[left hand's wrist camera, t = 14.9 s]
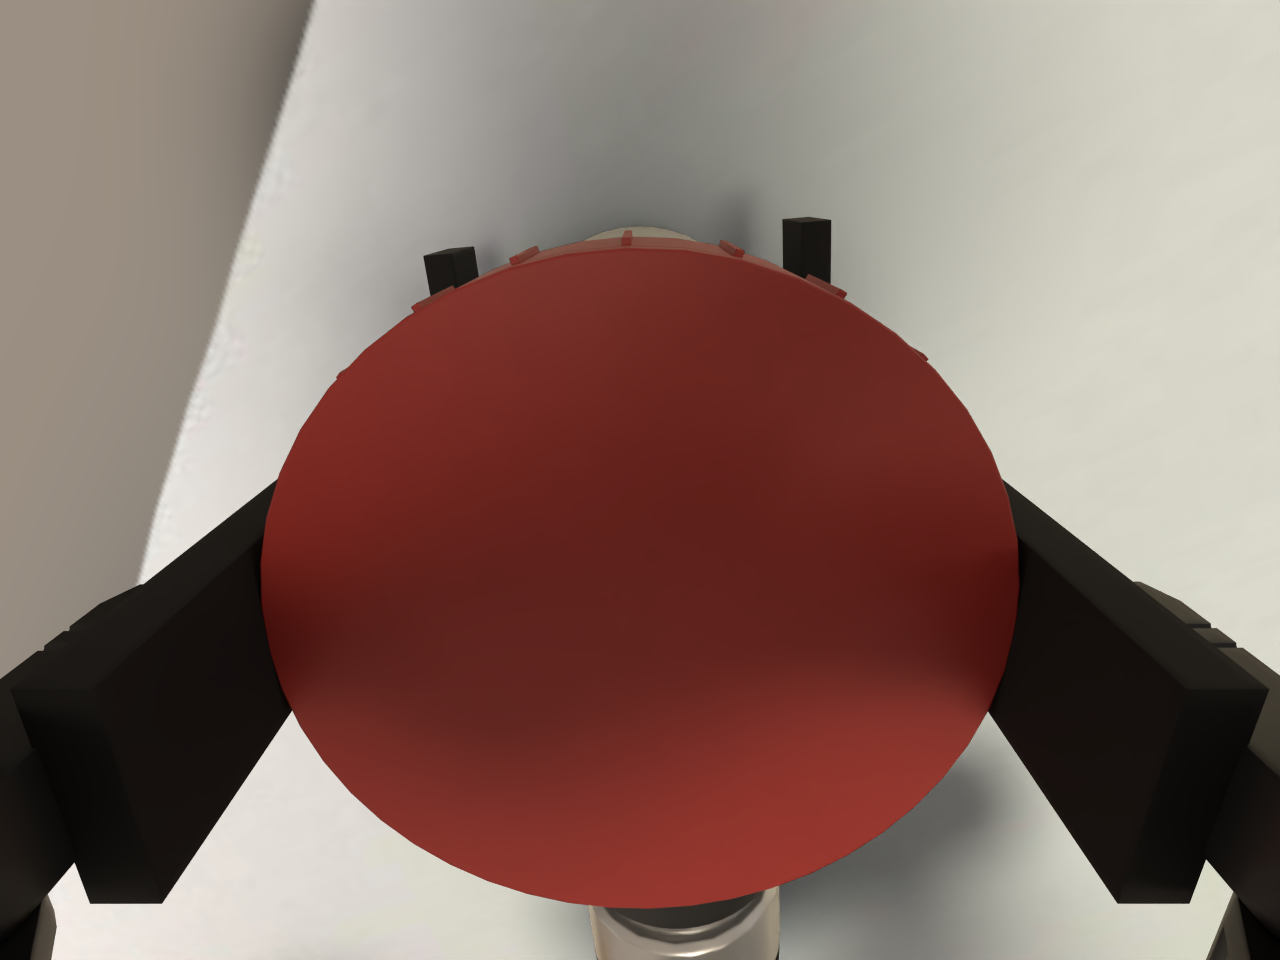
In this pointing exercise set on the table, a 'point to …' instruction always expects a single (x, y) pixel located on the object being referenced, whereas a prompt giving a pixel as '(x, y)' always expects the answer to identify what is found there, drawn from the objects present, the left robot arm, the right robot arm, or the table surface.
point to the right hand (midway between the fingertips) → (626, 235)
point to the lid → (639, 575)
